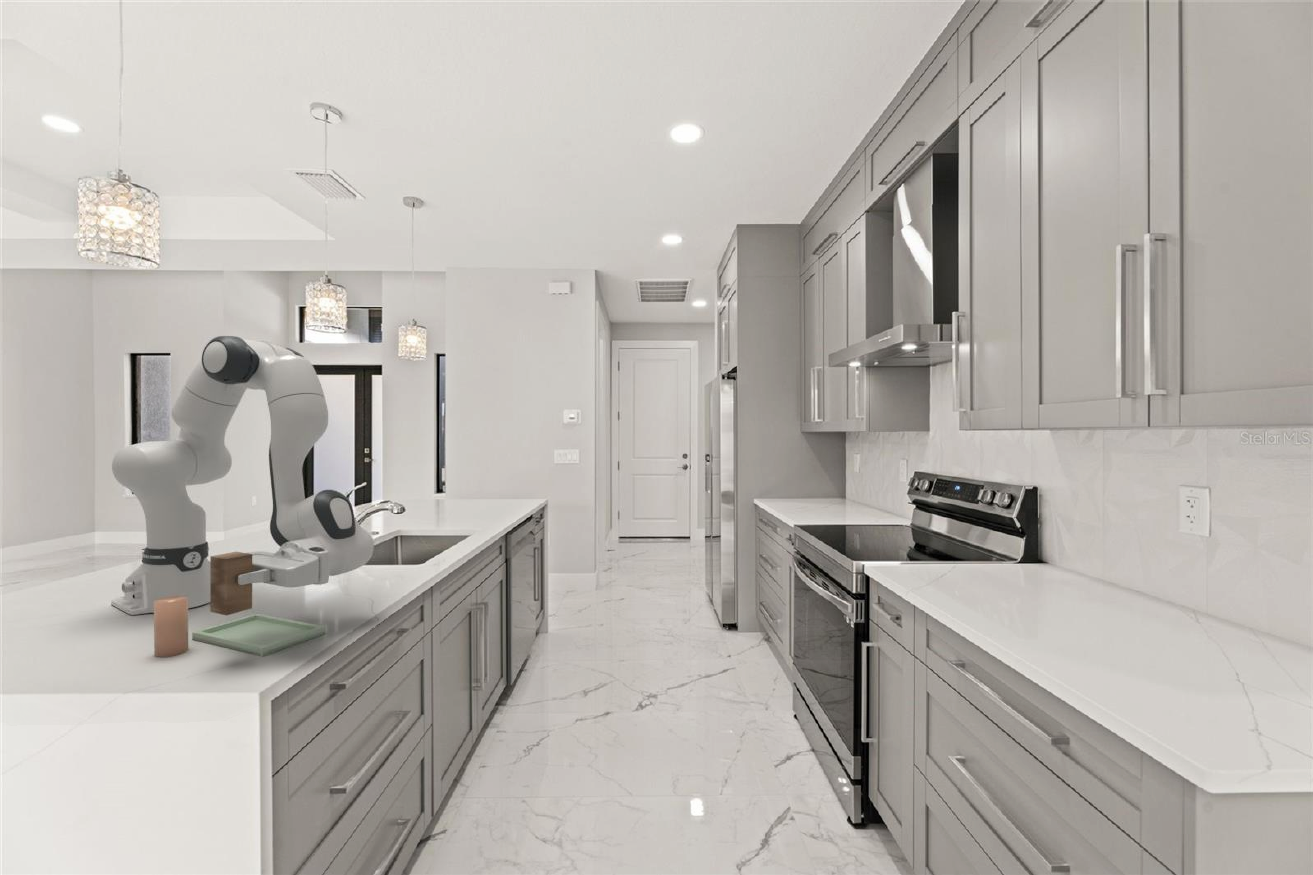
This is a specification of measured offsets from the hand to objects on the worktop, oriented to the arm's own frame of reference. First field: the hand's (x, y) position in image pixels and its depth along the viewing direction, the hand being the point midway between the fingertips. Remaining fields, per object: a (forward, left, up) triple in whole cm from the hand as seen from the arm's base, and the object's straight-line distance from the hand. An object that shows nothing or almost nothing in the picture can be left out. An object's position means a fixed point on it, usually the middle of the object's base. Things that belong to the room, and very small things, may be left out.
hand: (226, 578), depth 109 cm
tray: (-8, +11, -15) cm, 20 cm away
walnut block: (0, +1, -6) cm, 6 cm away
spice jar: (-15, -1, -15) cm, 21 cm away
